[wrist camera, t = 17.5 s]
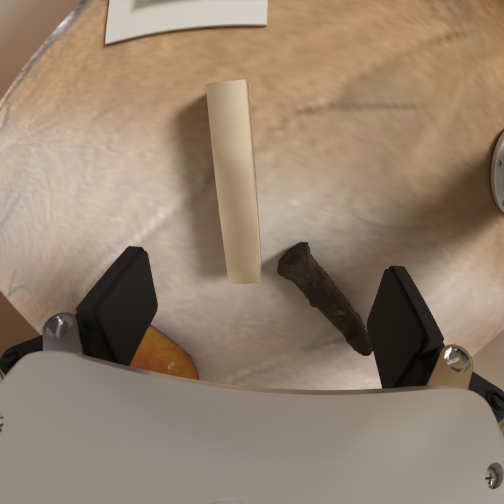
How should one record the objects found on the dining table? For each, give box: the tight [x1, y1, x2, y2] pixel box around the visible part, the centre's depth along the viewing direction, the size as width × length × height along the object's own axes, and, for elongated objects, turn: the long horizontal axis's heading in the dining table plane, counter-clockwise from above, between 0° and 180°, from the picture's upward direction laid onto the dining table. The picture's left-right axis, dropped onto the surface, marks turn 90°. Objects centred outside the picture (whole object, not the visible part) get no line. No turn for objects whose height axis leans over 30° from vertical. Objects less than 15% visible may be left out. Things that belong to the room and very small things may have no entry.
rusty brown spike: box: [277, 242, 373, 356], centre depth 31 cm, size 19×4×5 cm, turn 38°
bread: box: [74, 313, 199, 380], centre depth 36 cm, size 23×23×10 cm
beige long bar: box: [206, 80, 261, 284], centre depth 24 cm, size 3×18×5 cm, turn 4°
